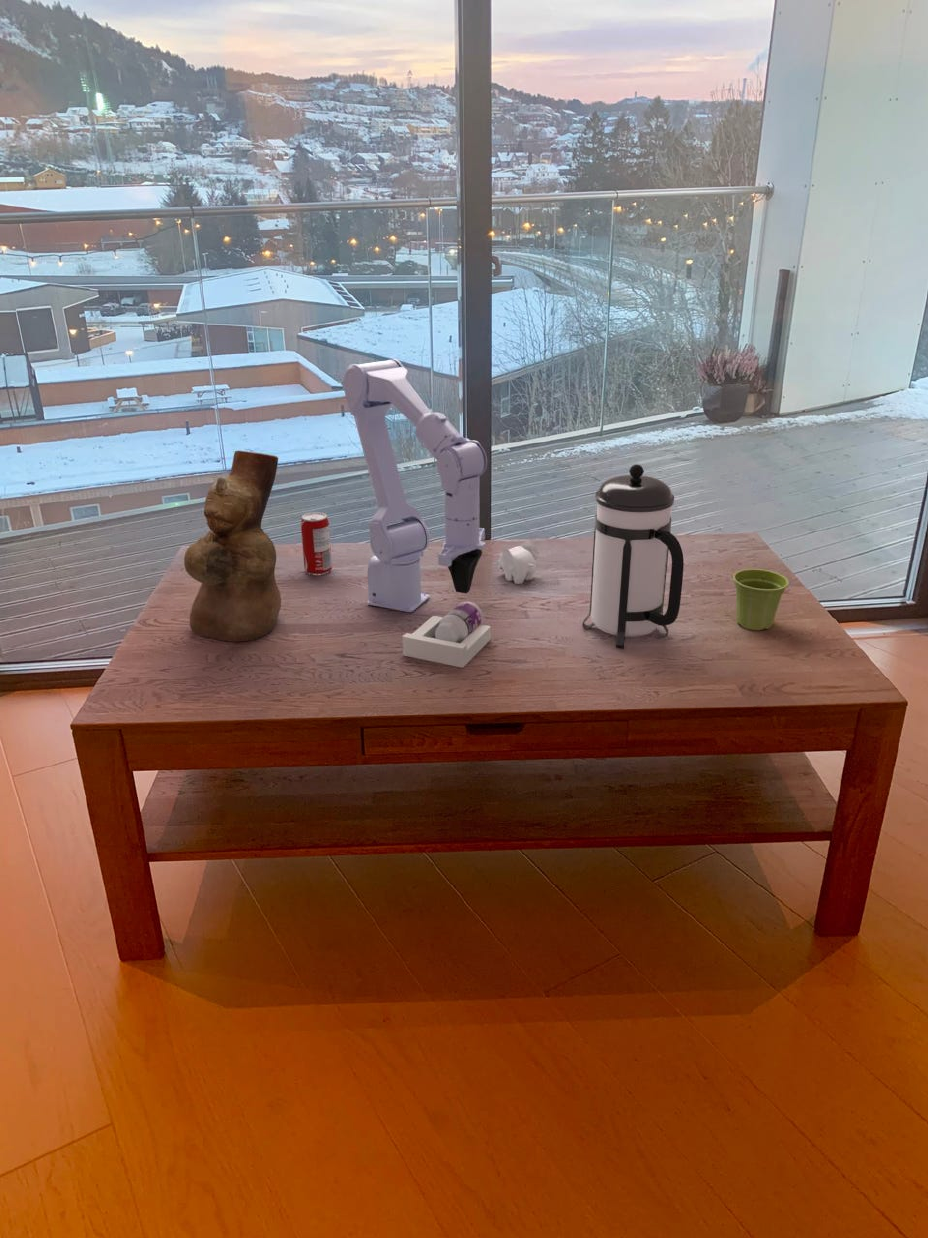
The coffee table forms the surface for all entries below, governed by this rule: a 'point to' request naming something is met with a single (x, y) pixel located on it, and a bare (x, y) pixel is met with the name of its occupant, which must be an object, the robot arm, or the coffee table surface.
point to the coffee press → (634, 557)
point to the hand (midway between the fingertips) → (462, 591)
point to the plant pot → (758, 597)
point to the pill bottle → (459, 622)
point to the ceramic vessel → (236, 555)
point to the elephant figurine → (518, 562)
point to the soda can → (316, 543)
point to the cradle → (444, 644)
